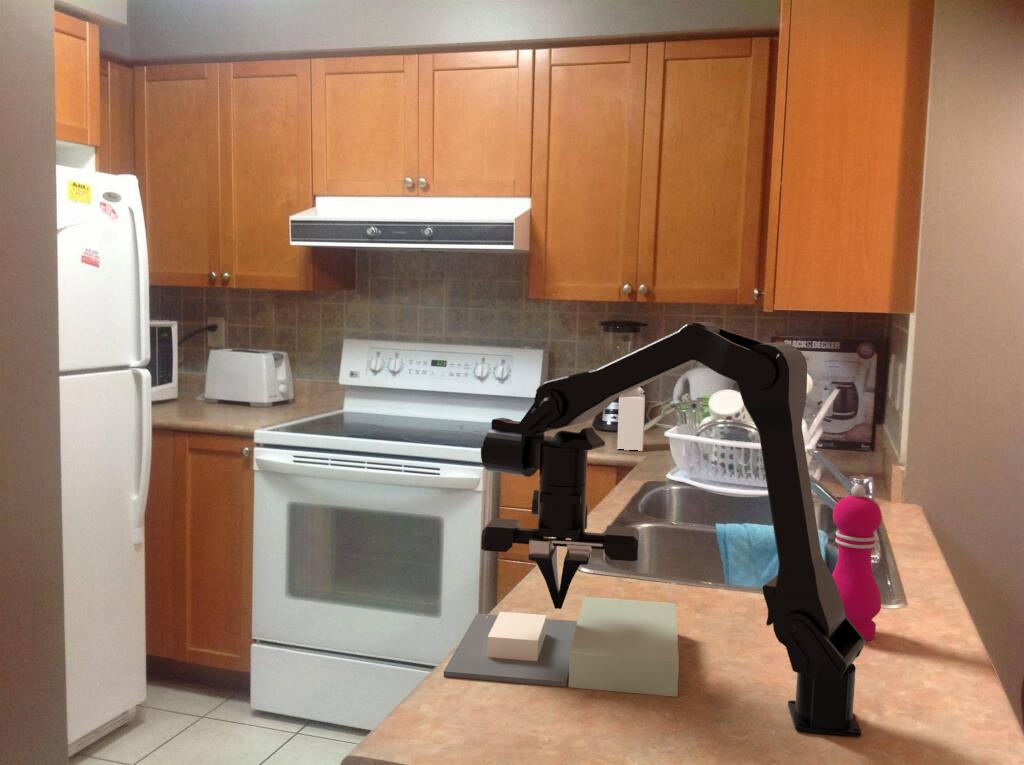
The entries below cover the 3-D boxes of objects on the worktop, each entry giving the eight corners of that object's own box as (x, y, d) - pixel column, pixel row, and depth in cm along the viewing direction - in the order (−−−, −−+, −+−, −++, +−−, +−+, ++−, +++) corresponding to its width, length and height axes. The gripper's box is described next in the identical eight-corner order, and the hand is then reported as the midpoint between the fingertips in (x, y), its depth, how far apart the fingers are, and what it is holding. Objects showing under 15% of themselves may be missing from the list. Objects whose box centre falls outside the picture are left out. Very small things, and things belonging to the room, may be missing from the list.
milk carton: (617, 450, 268) (619, 383, 266) (618, 446, 275) (620, 381, 273) (642, 451, 267) (645, 384, 265) (643, 447, 273) (645, 382, 272)
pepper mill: (837, 620, 131) (845, 477, 129) (888, 634, 126) (898, 485, 124) (811, 632, 126) (819, 483, 124) (863, 648, 121) (873, 493, 119)
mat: (565, 687, 107) (566, 681, 106) (443, 676, 109) (443, 671, 109) (580, 625, 126) (580, 621, 126) (476, 617, 128) (476, 613, 128)
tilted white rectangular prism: (487, 636, 113) (487, 657, 113) (537, 640, 112) (537, 661, 112) (499, 611, 122) (499, 630, 122) (546, 615, 121) (545, 634, 121)
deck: (677, 696, 105) (678, 661, 104) (568, 687, 107) (569, 652, 106) (674, 633, 124) (675, 603, 124) (582, 625, 126) (583, 596, 126)
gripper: (642, 473, 121) (636, 593, 123) (497, 465, 124) (494, 582, 126) (640, 492, 110) (634, 622, 112) (482, 482, 113) (478, 610, 115)
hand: (558, 607), depth 116 cm, fingers closed
